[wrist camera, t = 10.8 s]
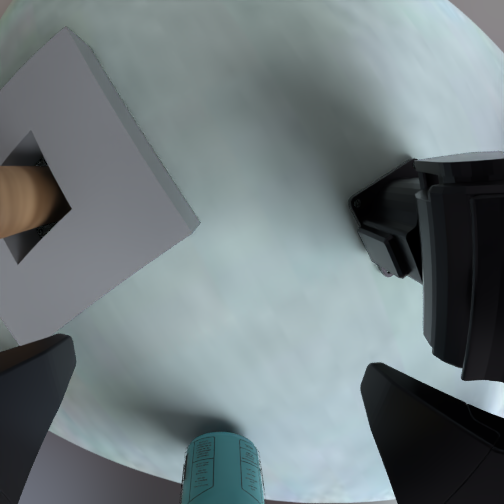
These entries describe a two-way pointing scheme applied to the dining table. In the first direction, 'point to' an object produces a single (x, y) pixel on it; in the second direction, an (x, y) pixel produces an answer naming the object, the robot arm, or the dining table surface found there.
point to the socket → (80, 190)
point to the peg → (29, 199)
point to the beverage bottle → (222, 471)
